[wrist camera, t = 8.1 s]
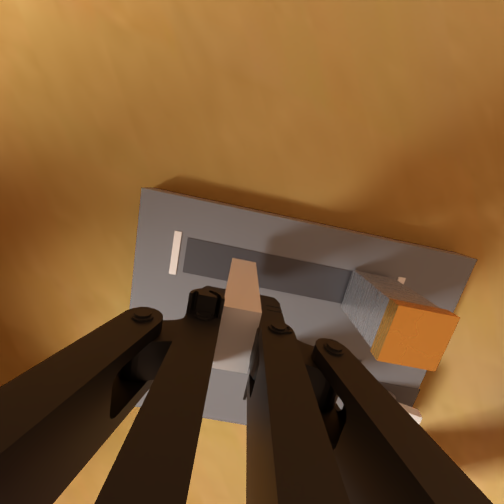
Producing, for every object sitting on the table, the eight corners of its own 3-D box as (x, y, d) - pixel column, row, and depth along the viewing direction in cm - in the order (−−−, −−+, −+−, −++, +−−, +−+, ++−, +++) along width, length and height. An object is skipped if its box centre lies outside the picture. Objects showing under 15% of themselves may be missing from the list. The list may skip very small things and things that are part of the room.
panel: (131, 385, 23) (119, 404, 21) (152, 187, 19) (141, 187, 17) (381, 428, 24) (392, 450, 22) (456, 252, 20) (479, 260, 18)
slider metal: (339, 308, 19) (377, 360, 13) (352, 268, 18) (398, 305, 12) (380, 316, 19) (435, 371, 13) (395, 276, 18) (460, 317, 12)
